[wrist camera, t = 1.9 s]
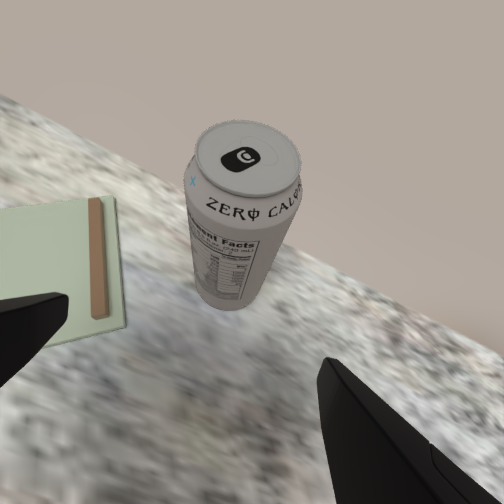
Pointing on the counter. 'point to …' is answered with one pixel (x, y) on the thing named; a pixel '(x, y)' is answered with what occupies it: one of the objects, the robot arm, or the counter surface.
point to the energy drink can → (239, 207)
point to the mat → (66, 261)
